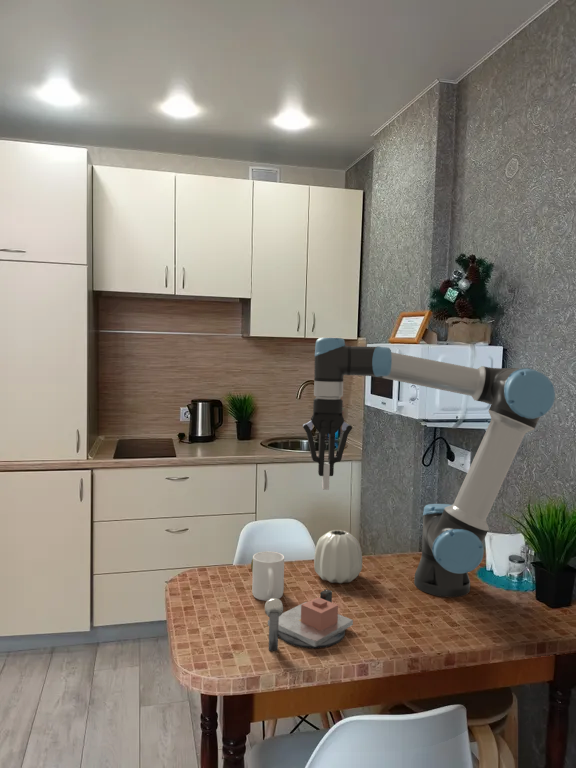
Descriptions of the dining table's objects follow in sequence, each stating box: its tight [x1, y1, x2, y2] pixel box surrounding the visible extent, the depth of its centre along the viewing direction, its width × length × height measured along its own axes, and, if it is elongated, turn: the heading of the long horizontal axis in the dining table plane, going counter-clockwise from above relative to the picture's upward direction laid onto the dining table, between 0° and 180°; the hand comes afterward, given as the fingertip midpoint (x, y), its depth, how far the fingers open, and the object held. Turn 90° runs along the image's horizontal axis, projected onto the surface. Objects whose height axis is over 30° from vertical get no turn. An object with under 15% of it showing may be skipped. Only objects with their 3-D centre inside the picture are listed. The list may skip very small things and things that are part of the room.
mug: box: [251, 551, 285, 602], centre depth 149 cm, size 12×8×10 cm
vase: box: [313, 529, 363, 584], centre depth 163 cm, size 14×14×13 cm
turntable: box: [267, 588, 354, 647], centre depth 131 cm, size 14×14×6 cm
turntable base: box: [278, 629, 346, 649], centre depth 132 cm, size 16×16×1 cm
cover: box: [301, 596, 339, 631], centre depth 131 cm, size 6×6×5 cm
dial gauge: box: [264, 598, 284, 652], centre depth 123 cm, size 4×3×11 cm, turn 94°
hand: (325, 488), depth 148 cm, fingers closed
